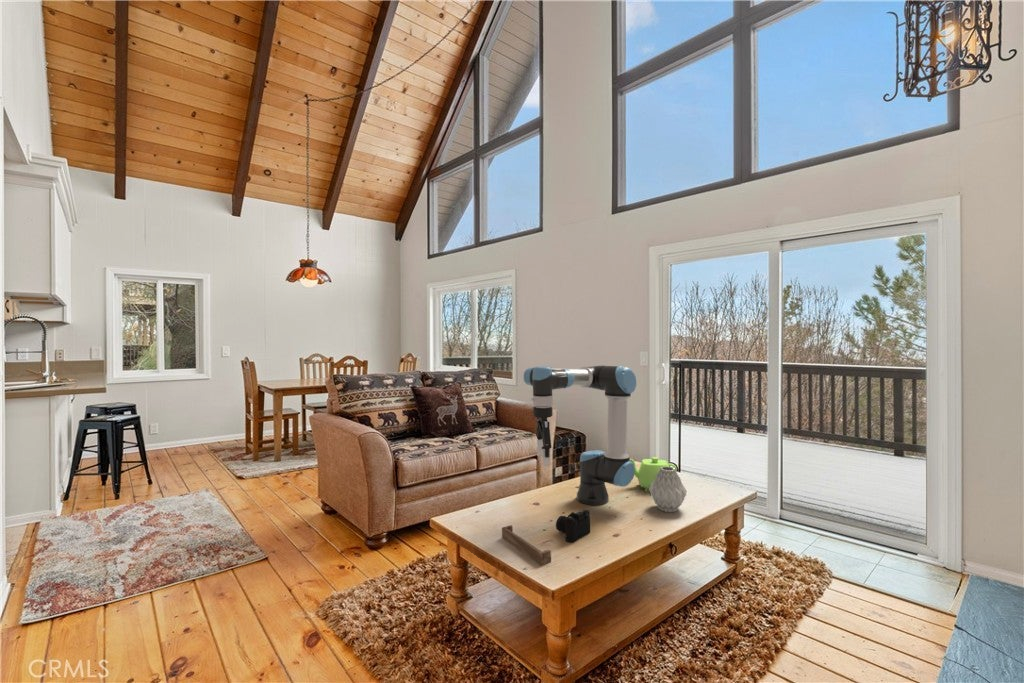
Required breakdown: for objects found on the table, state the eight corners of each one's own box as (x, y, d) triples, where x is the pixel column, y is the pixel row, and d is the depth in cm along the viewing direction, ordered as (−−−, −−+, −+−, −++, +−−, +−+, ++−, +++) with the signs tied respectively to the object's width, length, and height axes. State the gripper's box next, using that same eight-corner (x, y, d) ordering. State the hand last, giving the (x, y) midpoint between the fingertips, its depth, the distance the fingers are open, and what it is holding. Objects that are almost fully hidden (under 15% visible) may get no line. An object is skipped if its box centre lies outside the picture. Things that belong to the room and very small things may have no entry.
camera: (572, 525, 196) (572, 501, 196) (593, 533, 189) (593, 508, 188) (550, 536, 186) (550, 511, 186) (572, 544, 179) (572, 518, 178)
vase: (645, 502, 221) (645, 463, 221) (680, 502, 221) (680, 463, 220) (654, 516, 205) (654, 474, 204) (692, 516, 204) (692, 474, 204)
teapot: (674, 481, 251) (674, 451, 251) (679, 495, 230) (679, 463, 230) (626, 478, 257) (626, 449, 256) (626, 491, 236) (626, 460, 235)
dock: (511, 535, 187) (510, 525, 187) (550, 561, 165) (550, 550, 165) (502, 537, 185) (501, 527, 185) (541, 565, 163) (541, 553, 163)
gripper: (528, 401, 194) (529, 452, 195) (538, 412, 170) (539, 470, 170) (546, 401, 195) (547, 451, 196) (558, 411, 170) (559, 469, 171)
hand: (543, 460), depth 183 cm, fingers open, 13 cm apart
